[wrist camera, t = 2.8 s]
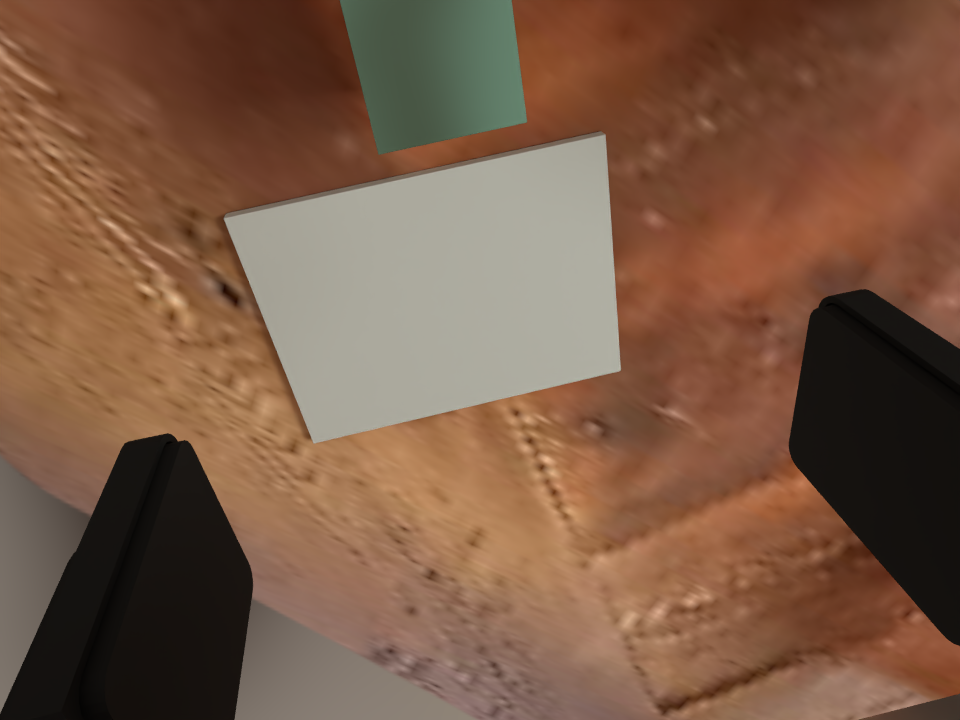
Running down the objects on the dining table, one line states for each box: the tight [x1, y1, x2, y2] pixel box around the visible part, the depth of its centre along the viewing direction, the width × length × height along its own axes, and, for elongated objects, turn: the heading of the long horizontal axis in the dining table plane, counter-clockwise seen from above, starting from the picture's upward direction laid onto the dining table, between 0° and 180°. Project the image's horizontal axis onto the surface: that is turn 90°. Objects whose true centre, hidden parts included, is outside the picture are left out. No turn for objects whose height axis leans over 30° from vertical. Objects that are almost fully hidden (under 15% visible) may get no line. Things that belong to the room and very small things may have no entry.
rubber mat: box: [224, 131, 621, 443], centre depth 31 cm, size 16×12×1 cm
